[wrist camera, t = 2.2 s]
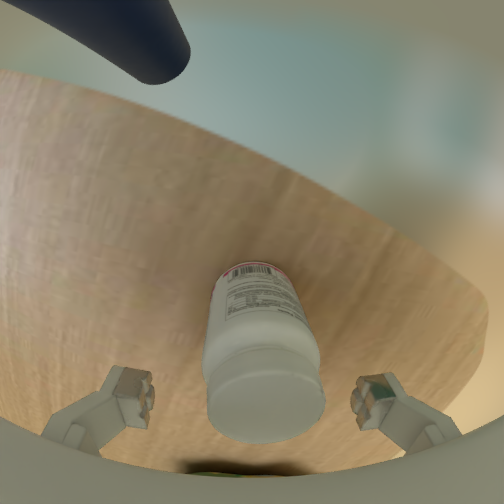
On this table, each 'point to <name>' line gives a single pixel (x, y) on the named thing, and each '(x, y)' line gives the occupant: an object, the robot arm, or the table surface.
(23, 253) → the table surface
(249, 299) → the pill bottle
